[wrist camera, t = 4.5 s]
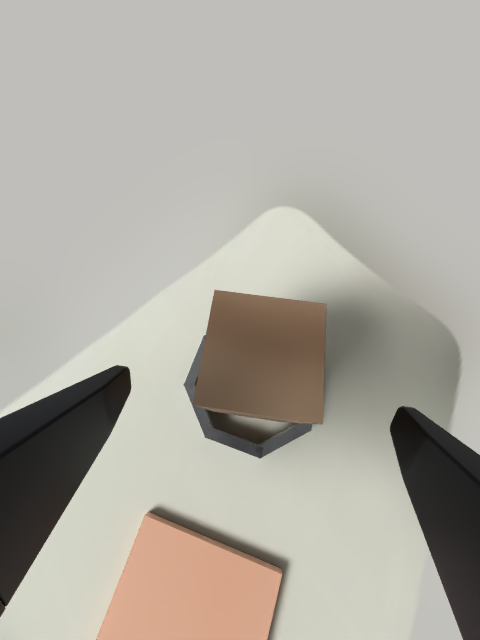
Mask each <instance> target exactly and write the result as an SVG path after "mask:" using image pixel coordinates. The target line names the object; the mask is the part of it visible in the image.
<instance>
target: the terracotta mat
mask: <svg viewBox="0 0 480 640" xmlns="http://www.w3.org/2000/svg"><path fill="white" fill-rule="evenodd" d="M281 577H282V572H281V568H278V567H276V566H274V565H271V564H269V563H267V562H264V561H262V560H260V559H257V558H255V557H253V556H250V555H248V554H246V553H243V552H241V551H239V550H236V549H234V548H232V547H229V546H227V545H225V544H222V543H220V542H218V541H215V540H213V539H210V538H208V537H206V536H203V535H201V534H199V533H196V532H194V531H192V530H189V529H187V528H185V527H182V526H180V525H178V524H175V523H173V522H171V521H168V520H166V519H164V518H161V517H159V516H157V515H154V514H152V513H150V512H148V513H147V514H146V515H145V516H144V519H143V521H142V524H141V526H140V529H139V531H138V534H137V536H136V539H135V541H134V544H133V547H132V549H131V552H130V554H129V557H128V559H127V562H126V564H125V567H124V570H123V572H122V575H121V577H120V580H119V582H118V585H117V587H116V590H115V592H114V595H113V598H112V600H111V603H110V605H109V608H108V610H107V613H106V615H105V618H104V621H103V623H102V626H101V628H100V631H99V633H98V636H97V638H96V640H267V639H268V634H269V630H270V625H271V621H272V617H273V612H274V608H275V604H276V599H277V595H278V591H279V586H280V582H281Z"/></svg>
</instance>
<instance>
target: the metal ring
mask: <svg viewBox="0 0 480 640" xmlns="http://www.w3.org/2000/svg"><path fill="white" fill-rule="evenodd" d="M205 338H206V335H204V336H203V339H202V342H201V344H200V347H199V349H198V352H197V354H196V356H195V359H194V361H193V364H192V366H191V369H190V371H189V374H188V376H187V379H186V381H185V383H184V386H185V389H186V391H187V393H188V396H189V398H190V401H191V403H192V406H193V408H194V411H195V413H196V416H197V418H198V420H199V423H200V425H201V428H202V430H203V433H204V435H205V438H208V439H211V440H213V441H216V442H219V443H221V444H224V445H227V446H229V447H232V448H234V449H237V450H240V451H242V452H245V453H248V454H250V455H253V456H255V457H258V458H259V459H260V458H262V457H263V456H265V455H267V454H269V453H271V452H272V451H274V450H276V449H278V448H280V447H282V446H283V445H285V444H287V443H289V442H291V441H292V440H294V439H296V438H298V437H300V436H302V435H303V434H305V433H307V432H309V431H311V427H312V424H308V423H296V424H294V425H293V426H291V427H289V428H287V429H285V430H283V431H281V432H280V433H278V434H276V435H274V436H272V437H270V438H269V439H267V440H265V441H263V442H261V443H259V444H256V443H253V442H251V441H248V440H245V439H243V438H240V437H237V436H235V435H232V434H229V433H227V432H224V431H221V430H219V429H216V428H215V427H214V425H213V423H212V420H211V418H210V415H209V413H208V411H207V409H204V408H201V407H197V406H194V405H193V400H194V395H195V390H196V384H197V379H198V374H199V369H200V364H201V358H202V353H203V348H204V343H205Z"/></svg>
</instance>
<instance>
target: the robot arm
mask: <svg viewBox="0 0 480 640" xmlns="http://www.w3.org/2000/svg"><path fill="white" fill-rule="evenodd" d="M130 391H131V378H130V370H129V368H128V367H126V366H119V365H116V366H114V367H111V368H109V369H107V370H105V371H103V372H100V373H98V374H96V375H94V376H92V377H90V378H87V379H85V380H83V381H81V382H79V383H76V384H74V385H72V386H70V387H68V388H65V389H63V390H61V391H59V392H57V393H54V394H52V395H50V396H48V397H46V398H44V399H41V400H39V401H37V402H35V403H33V404H30V405H28V406H26V407H24V408H22V409H19V410H17V411H15V412H13V413H11V414H8V415H6V416H4V417H2V418H0V617H1V615H2V613H3V612H4V610H5V606H7V605H8V603H9V601H10V600H11V598H12V596H13V595H14V593H15V592H16V590H17V588H18V587H19V585H20V583H21V582H22V580H23V578H24V577H25V575H26V573H27V572H28V570H29V568H30V567H31V565H32V563H33V562H34V560H35V558H36V557H37V555H38V553H39V552H40V550H41V548H42V547H43V545H44V543H45V542H46V540H47V539H48V537H49V535H50V534H51V532H52V530H53V529H54V527H55V525H56V524H57V522H58V520H59V519H60V517H61V515H62V514H63V512H64V510H65V509H66V507H67V505H68V504H69V502H70V500H71V499H72V497H73V495H74V494H75V492H76V490H77V489H78V487H79V486H80V484H81V482H82V481H83V479H84V477H85V476H86V474H87V472H88V471H89V469H90V467H91V466H92V464H93V462H94V461H95V459H96V457H97V456H98V454H99V452H100V451H101V449H102V447H103V446H104V444H105V442H106V441H107V439H108V437H109V436H110V434H111V432H112V430H113V428H114V426H115V424H116V422H117V420H118V417H119V415H120V413H121V411H122V409H123V407H124V405H125V402H126V400H127V398H128V396H129V394H130ZM390 432H391V436H392V440H393V444H394V447H395V451H396V455H397V459H398V463H399V466H400V470H401V474H402V477H403V480H404V483H405V486H406V489H407V491H408V494H409V497H410V499H411V502H412V505H413V507H414V510H415V513H416V515H417V518H418V521H419V523H420V526H421V529H422V531H423V534H424V536H425V539H426V542H427V544H428V547H429V550H430V552H431V555H432V558H433V560H434V563H435V566H436V568H437V571H438V574H439V576H440V579H441V582H442V584H443V587H444V590H445V592H446V595H447V598H448V600H449V603H450V606H451V608H452V611H453V614H454V616H455V619H456V621H457V624H458V627H459V629H460V632H461V635H462V638H463V640H480V455H479V454H477V453H476V452H474V451H473V450H472V449H470V448H469V447H467V446H466V445H465V444H463V443H462V442H461V441H459V440H458V439H457V438H455V437H454V436H452V435H451V434H450V433H448V432H447V431H445V430H444V429H443V428H441V427H440V426H439V425H437V424H436V423H434V422H433V421H432V420H430V419H429V418H427V417H426V416H425V415H423V414H422V413H421V412H419V411H418V410H416V409H415V408H412V407H405V406H401V407H399V408H398V409H397V411H396V414H395V416H394V418H393V420H392V422H391V425H390Z"/></svg>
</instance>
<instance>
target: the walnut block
mask: <svg viewBox="0 0 480 640" xmlns="http://www.w3.org/2000/svg"><path fill="white" fill-rule="evenodd" d="M325 331H326V304H323V303H315V302H307V301H299V300H291V299H283V298H275V297H267V296H259V295H251V294H243V293H235V292H227V291H219V290H215V291H214V296H213V301H212V306H211V312H210V317H209V322H208V327H207V332H206V338H205V343H204V348H203V353H202V358H201V364H200V369H199V374H198V379H197V384H196V390H195V395H194V400H193V405H194V406H197V407H201V408H204V409H207V410H210V411H214V412H219V413H225V414H232V415H239V416H245V417H252V418H259V419H266V420H272V421H279V422H290V423H308V424H323V394H324V362H325Z"/></svg>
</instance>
